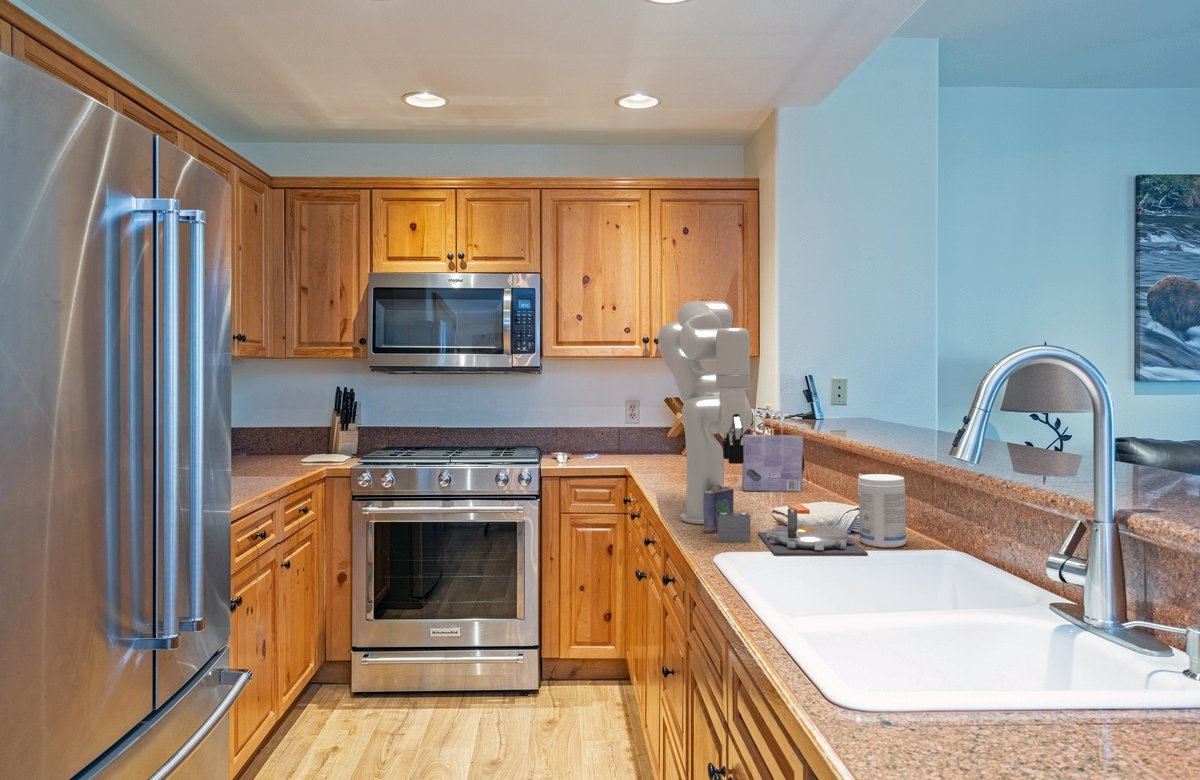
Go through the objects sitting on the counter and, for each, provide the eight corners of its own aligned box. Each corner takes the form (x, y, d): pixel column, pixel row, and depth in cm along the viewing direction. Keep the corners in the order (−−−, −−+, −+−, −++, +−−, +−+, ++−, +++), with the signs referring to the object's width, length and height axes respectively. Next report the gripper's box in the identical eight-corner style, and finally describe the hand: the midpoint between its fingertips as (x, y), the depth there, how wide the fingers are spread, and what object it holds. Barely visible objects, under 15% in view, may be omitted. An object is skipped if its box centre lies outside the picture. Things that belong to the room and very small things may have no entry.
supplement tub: (906, 540, 163) (906, 474, 163) (905, 550, 155) (905, 481, 154) (860, 536, 167) (860, 472, 167) (857, 546, 158) (857, 478, 158)
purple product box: (803, 489, 232) (803, 433, 231) (806, 492, 227) (806, 435, 226) (741, 489, 234) (741, 433, 233) (743, 491, 229) (743, 435, 228)
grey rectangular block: (716, 538, 167) (716, 511, 167) (747, 538, 167) (747, 511, 167) (718, 542, 164) (718, 514, 163) (750, 542, 163) (750, 514, 163)
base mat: (758, 534, 170) (758, 531, 170) (840, 534, 170) (840, 531, 170) (774, 555, 151) (774, 551, 151) (867, 555, 151) (867, 551, 151)
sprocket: (760, 545, 156) (760, 510, 155) (773, 528, 172) (773, 496, 172) (851, 552, 149) (851, 516, 149) (855, 533, 165) (855, 501, 165)
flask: (710, 534, 172) (710, 485, 171) (699, 531, 174) (699, 483, 174) (736, 527, 178) (736, 480, 178) (725, 525, 181) (725, 479, 180)
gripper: (711, 382, 173) (711, 456, 173) (720, 384, 155) (721, 466, 156) (743, 382, 173) (743, 456, 173) (756, 383, 155) (756, 466, 156)
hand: (733, 460), depth 165 cm, fingers open, 8 cm apart
